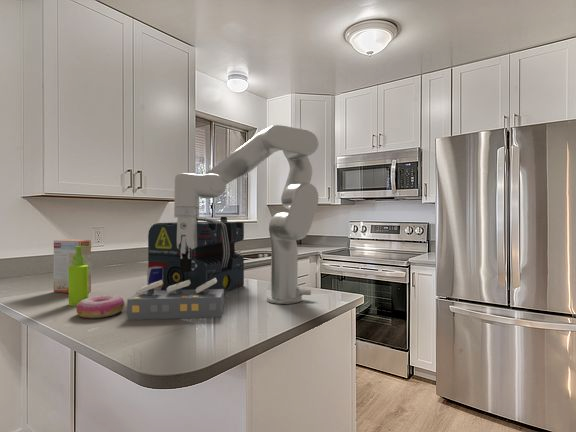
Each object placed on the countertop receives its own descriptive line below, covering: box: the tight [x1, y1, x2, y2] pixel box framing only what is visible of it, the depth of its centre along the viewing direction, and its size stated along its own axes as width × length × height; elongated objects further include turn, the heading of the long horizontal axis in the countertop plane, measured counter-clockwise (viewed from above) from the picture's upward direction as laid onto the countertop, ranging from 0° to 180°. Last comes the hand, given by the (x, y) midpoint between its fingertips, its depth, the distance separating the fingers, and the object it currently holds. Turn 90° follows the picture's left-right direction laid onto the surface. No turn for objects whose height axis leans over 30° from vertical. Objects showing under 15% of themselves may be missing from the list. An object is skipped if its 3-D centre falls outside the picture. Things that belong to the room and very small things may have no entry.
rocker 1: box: [137, 280, 163, 293], centre depth 111 cm, size 7×4×1 cm, turn 96°
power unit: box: [147, 216, 245, 293], centre depth 148 cm, size 28×28×30 cm
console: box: [126, 287, 225, 321], centre depth 112 cm, size 27×12×8 cm, turn 96°
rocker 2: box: [167, 280, 191, 292], centre depth 112 cm, size 7×4×1 cm, turn 96°
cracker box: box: [53, 239, 92, 294], centre depth 142 cm, size 14×6×21 cm, turn 69°
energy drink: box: [146, 266, 163, 291], centre depth 127 cm, size 5×5×12 cm
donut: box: [75, 294, 125, 319], centre depth 111 cm, size 14×13×5 cm
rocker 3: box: [195, 277, 217, 293], centre depth 113 cm, size 7×4×1 cm, turn 96°
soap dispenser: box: [68, 246, 92, 307], centre depth 124 cm, size 6×7×20 cm
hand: (185, 271), depth 112 cm, fingers closed
